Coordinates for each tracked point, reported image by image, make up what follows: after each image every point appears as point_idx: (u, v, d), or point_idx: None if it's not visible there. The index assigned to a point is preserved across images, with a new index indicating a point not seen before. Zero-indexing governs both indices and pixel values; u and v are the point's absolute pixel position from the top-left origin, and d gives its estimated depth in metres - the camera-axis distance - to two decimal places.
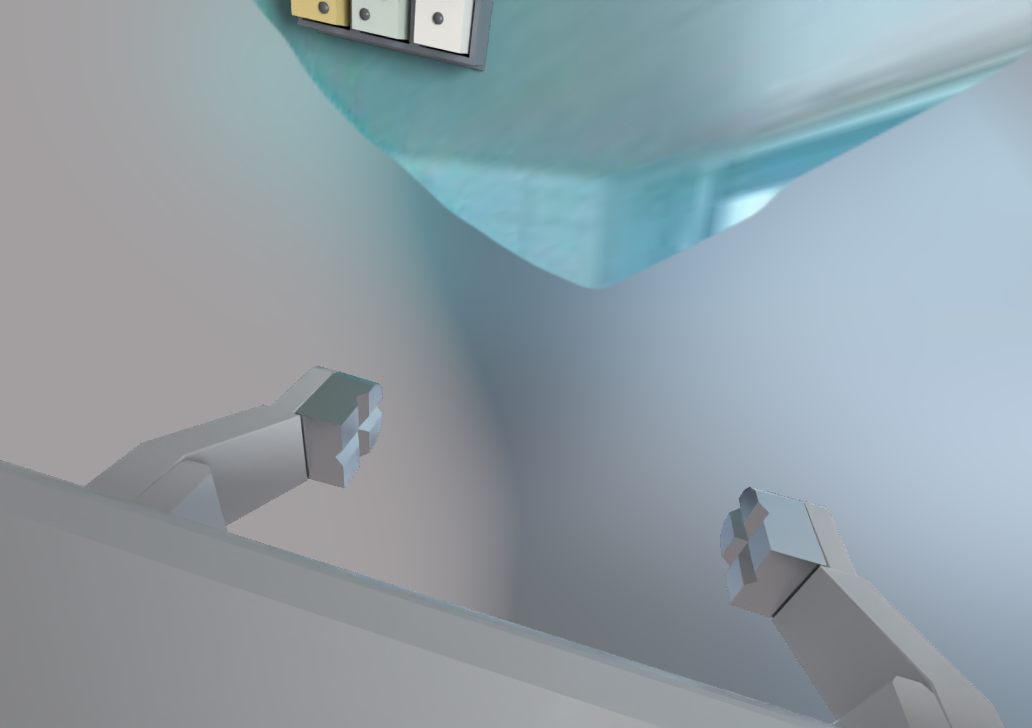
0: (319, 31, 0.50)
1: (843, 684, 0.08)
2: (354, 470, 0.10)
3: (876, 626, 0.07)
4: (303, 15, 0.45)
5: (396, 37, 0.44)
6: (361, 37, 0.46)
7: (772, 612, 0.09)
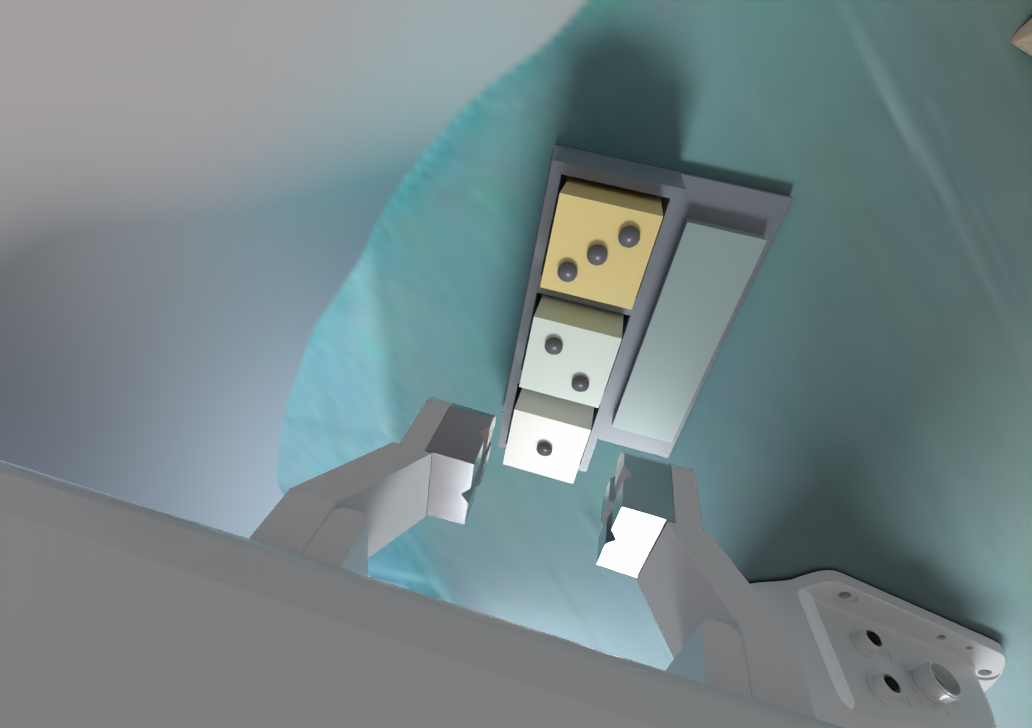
0: (555, 150, 0.25)
1: (683, 634, 0.08)
2: (471, 505, 0.10)
3: (704, 575, 0.08)
4: (557, 220, 0.21)
5: (520, 386, 0.26)
6: (529, 293, 0.25)
7: (635, 571, 0.09)
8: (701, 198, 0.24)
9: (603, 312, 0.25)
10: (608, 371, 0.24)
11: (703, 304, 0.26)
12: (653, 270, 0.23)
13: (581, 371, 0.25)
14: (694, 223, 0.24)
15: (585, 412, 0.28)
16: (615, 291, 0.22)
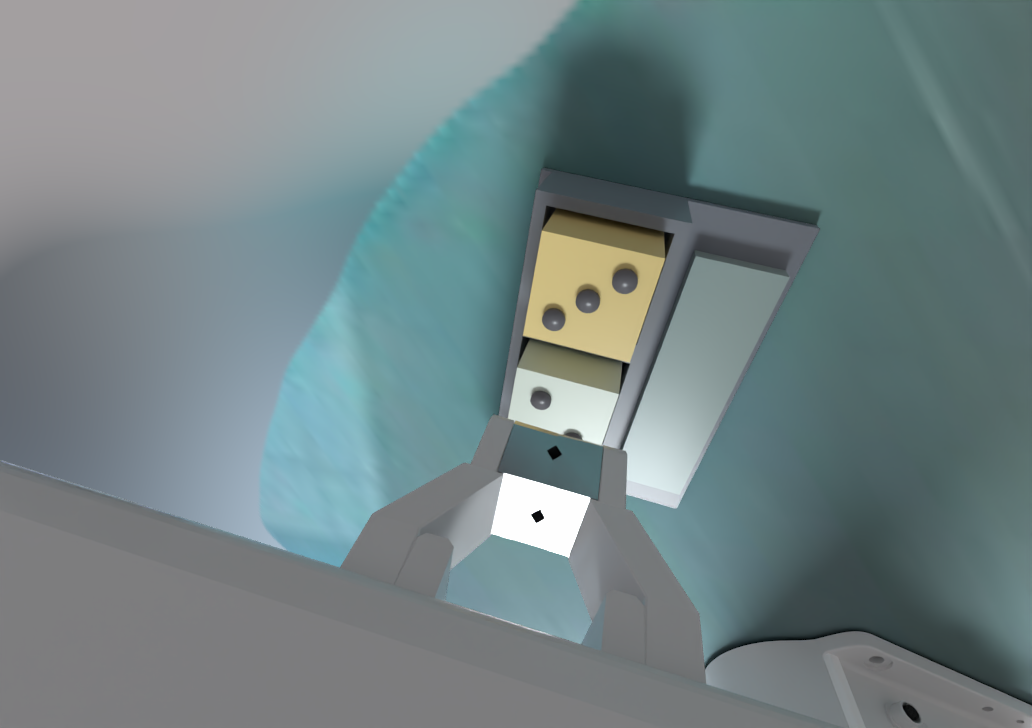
0: (542, 174, 0.21)
1: None
2: None
3: (618, 549, 0.08)
4: (540, 262, 0.18)
5: None
6: (514, 337, 0.22)
7: (567, 550, 0.09)
8: (712, 228, 0.21)
9: (598, 358, 0.22)
10: (604, 429, 0.21)
11: (715, 347, 0.23)
12: (655, 314, 0.20)
13: (573, 428, 0.21)
14: (703, 257, 0.21)
15: None
16: (610, 342, 0.19)
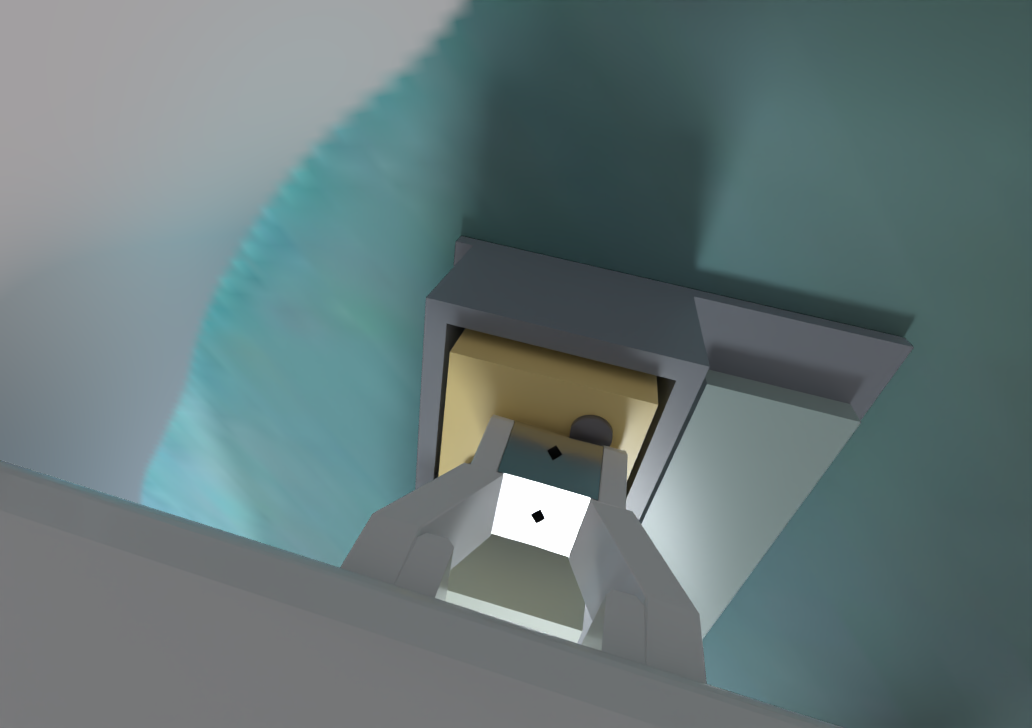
0: (458, 248, 0.13)
1: None
2: None
3: (619, 550, 0.08)
4: (452, 397, 0.11)
5: None
6: None
7: (567, 550, 0.09)
8: (733, 339, 0.13)
9: None
10: None
11: (734, 507, 0.15)
12: (643, 494, 0.12)
13: None
14: (720, 386, 0.13)
15: None
16: None
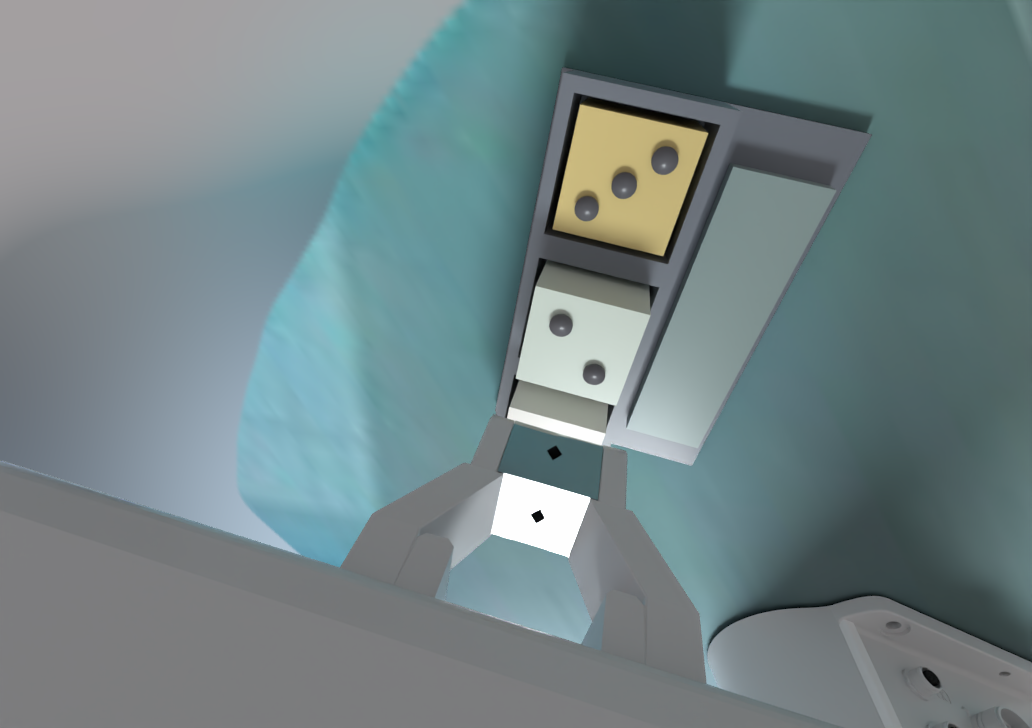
0: None
1: None
2: None
3: (618, 549, 0.08)
4: (576, 142, 0.17)
5: (518, 377, 0.21)
6: (530, 258, 0.20)
7: (567, 551, 0.09)
8: (751, 136, 0.19)
9: (623, 283, 0.20)
10: (631, 358, 0.19)
11: (747, 276, 0.21)
12: (692, 226, 0.18)
13: (596, 358, 0.19)
14: (742, 168, 0.19)
15: (597, 411, 0.22)
16: (644, 233, 0.18)
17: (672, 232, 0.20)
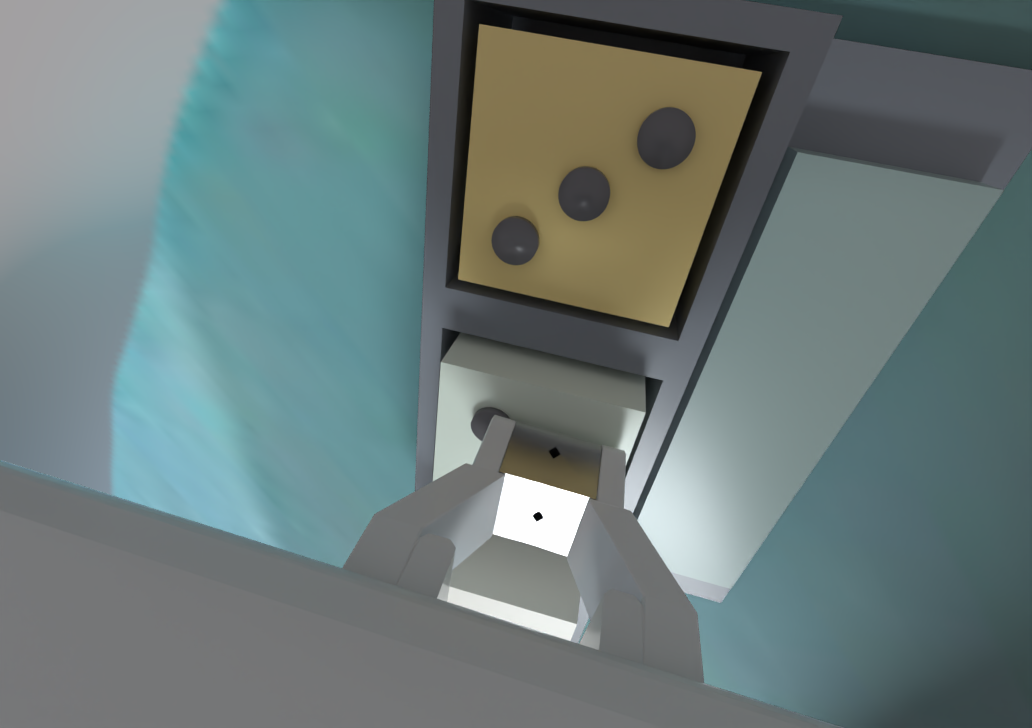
0: None
1: None
2: None
3: (616, 549, 0.08)
4: (480, 108, 0.08)
5: None
6: (427, 329, 0.11)
7: (565, 550, 0.09)
8: (830, 94, 0.10)
9: None
10: None
11: (819, 344, 0.12)
12: (725, 271, 0.09)
13: None
14: (815, 155, 0.10)
15: (566, 570, 0.13)
16: (630, 285, 0.09)
17: None
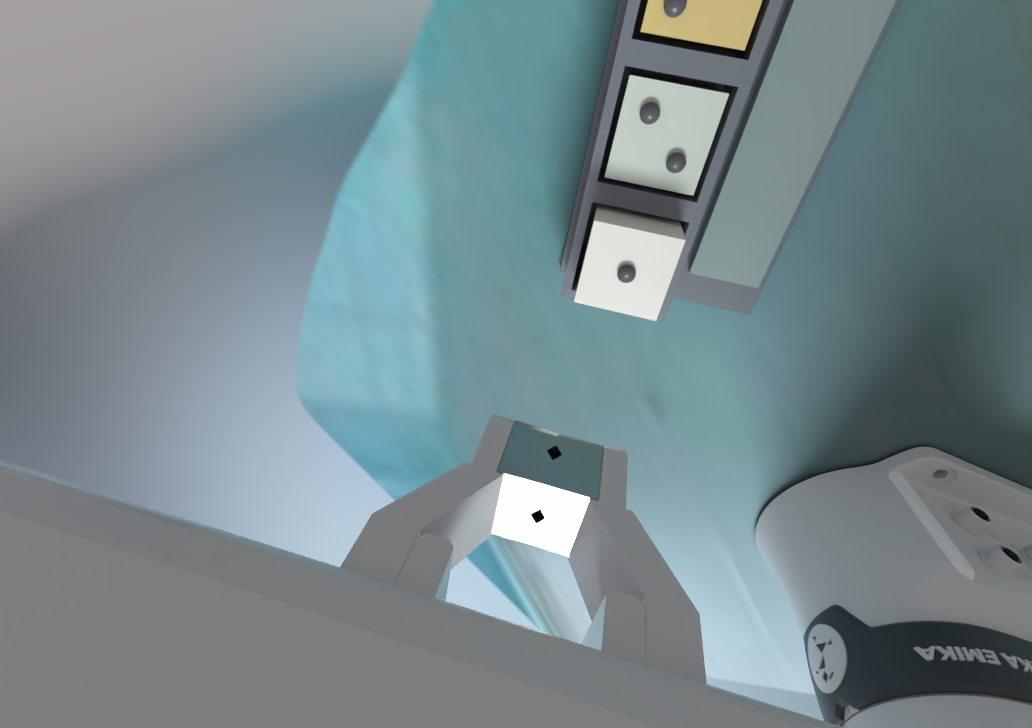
0: None
1: None
2: None
3: (618, 550, 0.08)
4: None
5: (606, 176, 0.24)
6: (616, 67, 0.21)
7: (567, 550, 0.09)
8: None
9: (698, 86, 0.23)
10: (709, 142, 0.22)
11: (814, 89, 0.23)
12: (773, 15, 0.19)
13: (678, 146, 0.22)
14: None
15: (673, 229, 0.24)
16: (728, 26, 0.20)
17: None
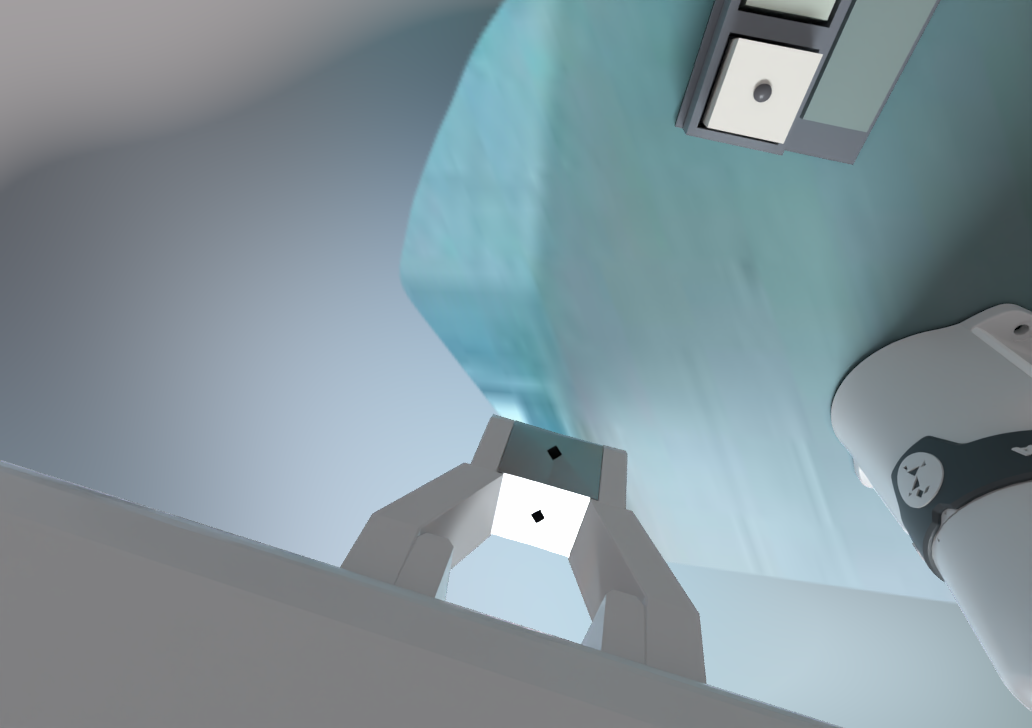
0: None
1: None
2: None
3: (618, 550, 0.08)
4: None
5: (747, 3, 0.26)
6: None
7: (567, 550, 0.09)
8: None
9: None
10: None
11: None
12: None
13: None
14: None
15: None
16: None
17: None
